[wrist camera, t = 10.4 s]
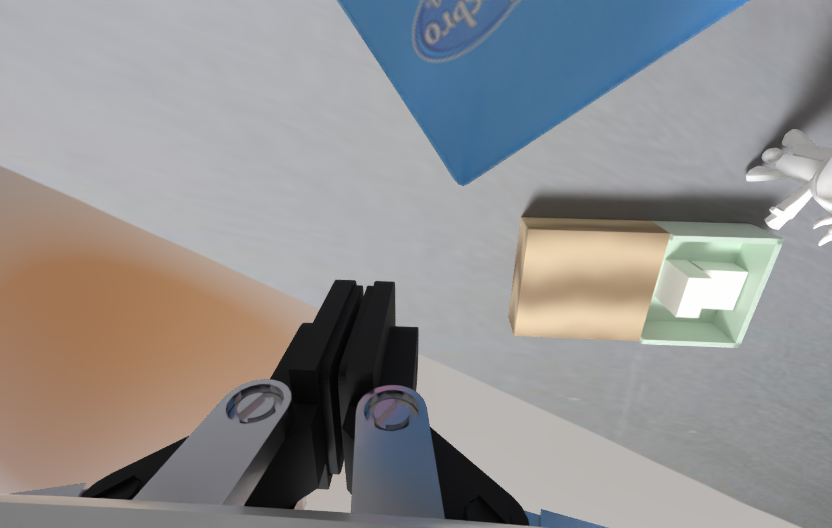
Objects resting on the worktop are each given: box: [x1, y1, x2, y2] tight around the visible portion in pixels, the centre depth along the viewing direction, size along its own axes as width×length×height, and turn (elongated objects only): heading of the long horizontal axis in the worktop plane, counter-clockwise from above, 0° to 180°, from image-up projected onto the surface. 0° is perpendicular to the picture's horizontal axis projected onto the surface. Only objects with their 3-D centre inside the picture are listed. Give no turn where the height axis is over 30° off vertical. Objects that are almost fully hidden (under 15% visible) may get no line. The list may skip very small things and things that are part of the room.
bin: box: [639, 221, 784, 348], centre depth 38 cm, size 11×9×4 cm
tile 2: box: [690, 261, 748, 310], centre depth 38 cm, size 4×4×2 cm
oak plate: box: [509, 217, 671, 341], centre depth 38 cm, size 11×12×4 cm
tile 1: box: [654, 259, 713, 318], centre depth 37 cm, size 4×4×2 cm
